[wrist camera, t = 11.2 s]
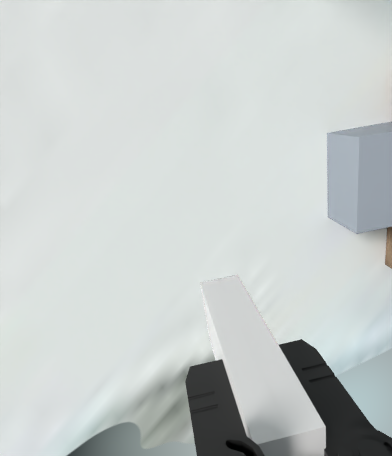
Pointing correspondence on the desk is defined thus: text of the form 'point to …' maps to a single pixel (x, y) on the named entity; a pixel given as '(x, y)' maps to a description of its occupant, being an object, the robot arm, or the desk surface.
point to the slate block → (360, 177)
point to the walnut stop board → (389, 248)
